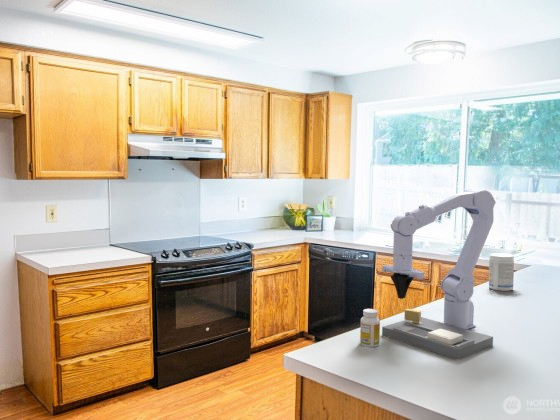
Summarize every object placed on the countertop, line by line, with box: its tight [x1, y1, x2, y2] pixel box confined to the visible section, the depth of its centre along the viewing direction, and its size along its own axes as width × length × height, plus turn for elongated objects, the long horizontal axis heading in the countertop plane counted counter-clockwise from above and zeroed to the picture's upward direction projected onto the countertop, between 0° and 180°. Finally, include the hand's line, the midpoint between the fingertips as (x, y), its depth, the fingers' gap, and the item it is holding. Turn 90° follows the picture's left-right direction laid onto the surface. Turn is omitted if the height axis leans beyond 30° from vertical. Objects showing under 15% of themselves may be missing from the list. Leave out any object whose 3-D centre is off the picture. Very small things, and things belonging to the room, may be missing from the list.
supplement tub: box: [488, 252, 515, 292], centre depth 205 cm, size 10×10×15 cm
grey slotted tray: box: [381, 316, 494, 361], centre depth 141 cm, size 18×25×4 cm
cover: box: [428, 329, 463, 345], centre depth 133 cm, size 6×7×2 cm
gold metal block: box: [403, 308, 422, 324], centre depth 149 cm, size 4×2×4 cm, turn 59°
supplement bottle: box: [359, 308, 381, 348], centre depth 137 cm, size 5×5×10 cm
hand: (401, 298), depth 150 cm, fingers closed
